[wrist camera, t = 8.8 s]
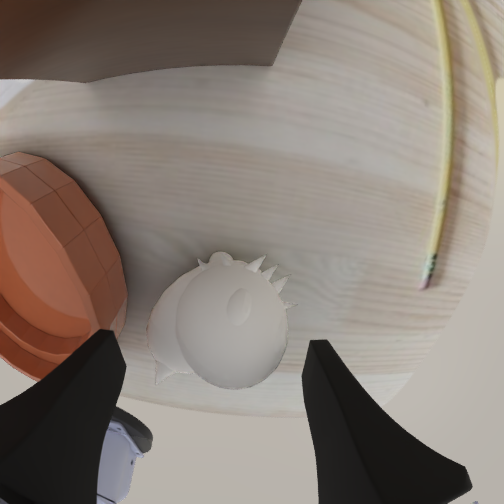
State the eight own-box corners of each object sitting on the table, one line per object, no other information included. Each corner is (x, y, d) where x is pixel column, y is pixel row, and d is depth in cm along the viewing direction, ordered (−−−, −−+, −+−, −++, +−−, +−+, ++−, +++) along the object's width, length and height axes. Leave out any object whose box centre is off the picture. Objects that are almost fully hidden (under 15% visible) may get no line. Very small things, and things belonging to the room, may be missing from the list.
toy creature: (309, 264, 13) (345, 370, 7) (204, 354, 16) (190, 450, 10) (233, 198, 12) (216, 282, 6) (136, 310, 14) (94, 404, 9)
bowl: (151, 359, 16) (135, 408, 12) (11, 330, 16) (-11, 361, 12) (113, 132, 10) (61, 143, 7) (-38, 169, 10) (-77, 188, 6)
